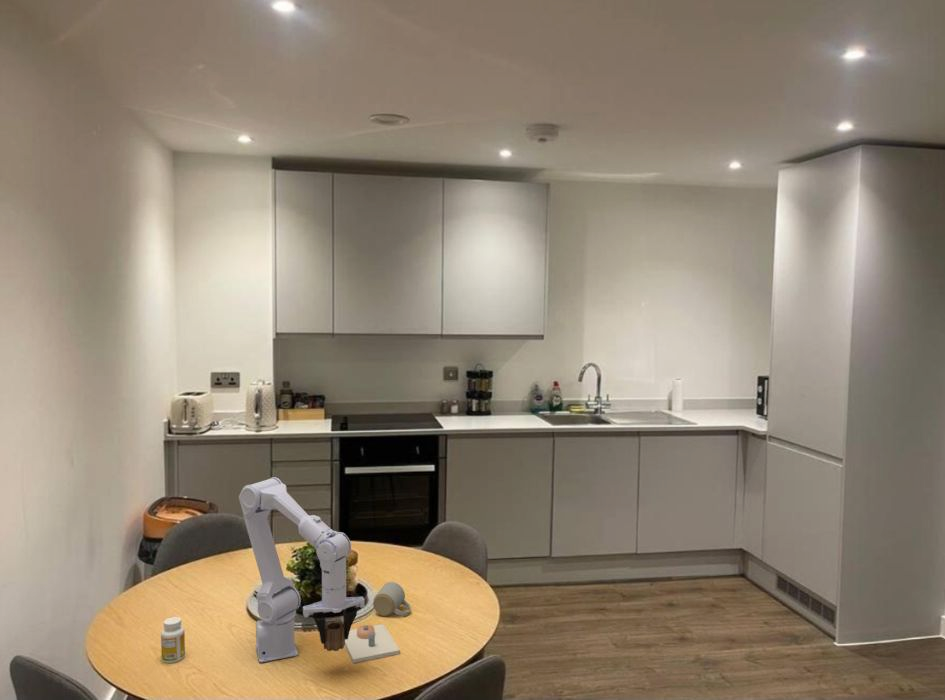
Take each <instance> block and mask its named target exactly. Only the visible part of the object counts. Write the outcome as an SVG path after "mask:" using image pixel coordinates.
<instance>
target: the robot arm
mask: <svg viewBox="0 0 945 700" xmlns="http://www.w3.org/2000/svg"><path fill="white" fill-rule="evenodd" d="M238 500H239V503H240V506H241V511H242V514H243V519H244V523H245V527H246V530H247V534H248V537H249V541H250V545H251V548H252V552H253V555H254V559H255V562H256V566H257V570H258V572H259V577H260V580H261V583H262V584H261V587H260V589H259V591H258V592H257V594H256V596H255V597H256V600H257V614H258V616H259V618H260V620H257V621H256V623H255V651H256V654H257V660H258V663H259V664H260V663H265V662H271V661H276V660H281V659H286V658H287V659H288V658H292V657H297V656H299V652H298V648H297V646H296V643H295V616H296V614H297V610H298V609H299V607H300V606H301V602H302V601H301V600H302V598H301V595H300V592H299V591H298V590H297V588H296V587H295V584H294V581H293V580H292V579H290V578H288V577H286V576H285V575H284V572H283V568H282V565H281V562H280V557H279V554H278V551H277V550H278V549H277V548H276V544H275V540H274V537H273V533H272V530H271V526H270V524H269V519H268V516H269V515H270V513H271V511H272V510H277V511H279V513H281V514H282V515H284V516H285V517H286V518H288V520H290V521H292V522H293V523H294V524H295V525H297V526H298V534H299V535H300V536H301V537H302V538H303V539H305V540H306V541H307V542H308V543H309V544H310V545H311V546H312V547H313V548H314V549H315V553H316V556H317V558H318V560H319V563H320V564H319V567H320V568H321V600H320V601H317V602H313V603H311V604H308V605H307V604H306V605H304V606H302V615H303V617H304V618H308V617H309V616H312V618H313V619H314V622H315V624H316V627H317V630H318V634H319V639H320V640H319V641H320V643H321V644H322V645H324V643H325V624H326V619H325V614H326V613H330V612H332V613H334V614H336V613H341V612H342V614H343V624H345V640H346V639H348V636H349V632H350V630H351V628H352V625H353V623H354V621H355V619H356V618H357V616H358V611H357V608H358V607H359V608H365V606H366V605H365V602H366V600H365V598H364V596H351V597H349V596H347V556H348V555H349V554H350V553H351V551H352V543H351V540H350V537H348V535H346V533H344V532H341V531H337V530H333V529H331V527H329V526H328V525H327V523H325V522H324V521H323V520H322V518H321V517H320V516H319V515H315V514H312V515H309V514H308V513H307V512H306V511H305V510H304V508H302V507H301V505H299V504H298V503H297V501H296V500H295V499H294V498H293V496H291V495H290V494H289V493H288V488H287V484H285V483H283V482H282V480H281V479H279V478H278V477H276V476H275V477H274V476H273V477H270V478H269V479H265V480H262V481H259V482H255V483H252V484H246V485H244V486H243V488H242V490H241V491H240V493H239V495H238Z"/></svg>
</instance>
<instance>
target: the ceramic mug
mask: <svg viewBox="0 0 945 700" xmlns="http://www.w3.org/2000/svg"><path fill="white" fill-rule="evenodd" d="M405 599H406V593H405V591H404V588H403V586H401V585H400V584H399V583H397V582H393V581H389V582H386V583H385V584H383V586H382V587H381V588H380V590H378V592H377V594H376V595H375V596H374V599H373V602H372V605H373V608H374V610H375V612H376V613H377V614H378V615H380V616H383V617H388V616H390V615H392V614H393V613H394V614H395V615H397V616H400V617H405V616H408V615H409V613H410V612H411V609H412V607H411V605H410V604H409V602H408V601H406V600H405ZM402 605H403V606H404V607H405V608H406V609H407V611H402V610H400V609H399V608H400V607H401V606H402Z"/></svg>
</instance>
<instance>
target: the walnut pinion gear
mask: <svg viewBox="0 0 945 700" xmlns="http://www.w3.org/2000/svg"><path fill="white" fill-rule="evenodd" d="M344 648H345V624H344V623H342V621H339V620H338V621H330V622H329V623H326V622H325V643H324V644H323V649H326V651H327V652H331V651H334V652H338V651H339V650H343V649H344Z"/></svg>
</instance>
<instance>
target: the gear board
mask: <svg viewBox="0 0 945 700" xmlns="http://www.w3.org/2000/svg"><path fill="white" fill-rule="evenodd" d="M344 648H345V649H346V652H347V653H348V655H349V657H350V660H351V661H352V664H356V663H362V662H367V661H371V660H376V659H382V658H386V657H391V656H396V655H400V654H401V652H400V651H401V650H400V648H399V647H398V645H397V643H396V642H395V640H394V639H393V637H392V635H391V634H390V633H389V631H388V629H387V627H385V624H384V623H383V624H377V625H370V624H365V625H364V624H363V625H360V626H359V627H357V628H354V629H350V632H349V636H348V639H346V640H345V645H344Z"/></svg>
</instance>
